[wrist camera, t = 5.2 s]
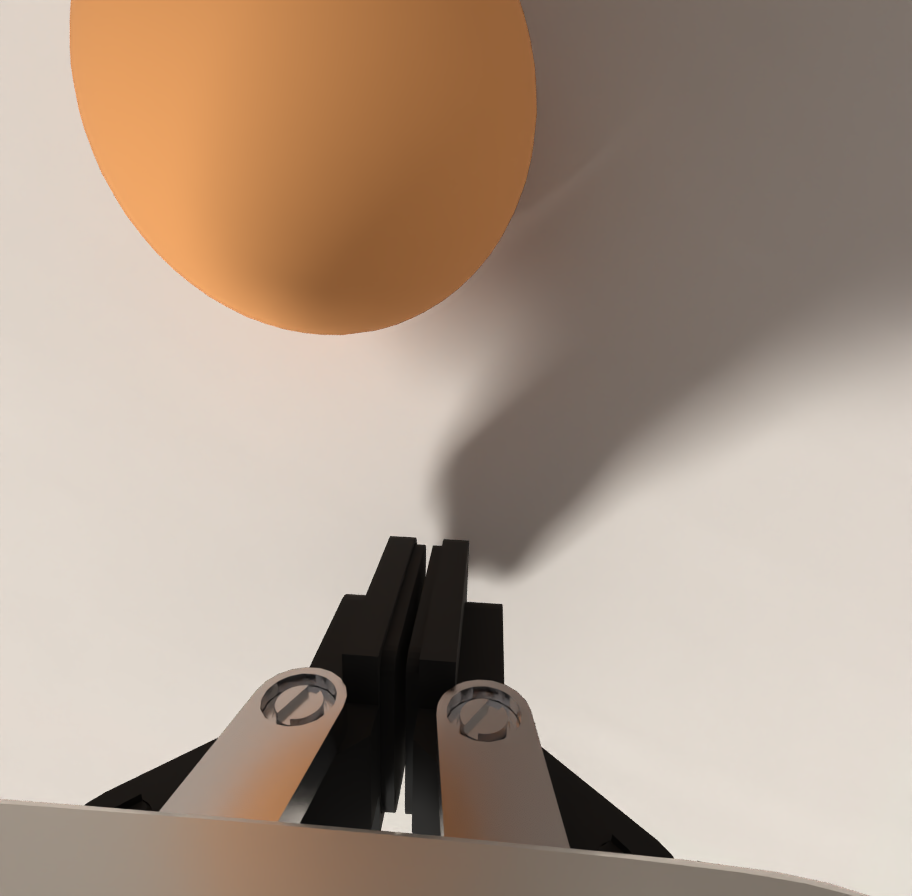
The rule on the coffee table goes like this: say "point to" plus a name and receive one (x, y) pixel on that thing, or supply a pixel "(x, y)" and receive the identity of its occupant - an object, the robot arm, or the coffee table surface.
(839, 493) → the coffee table surface
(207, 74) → the ball
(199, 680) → the coffee table surface
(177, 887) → the robot arm
